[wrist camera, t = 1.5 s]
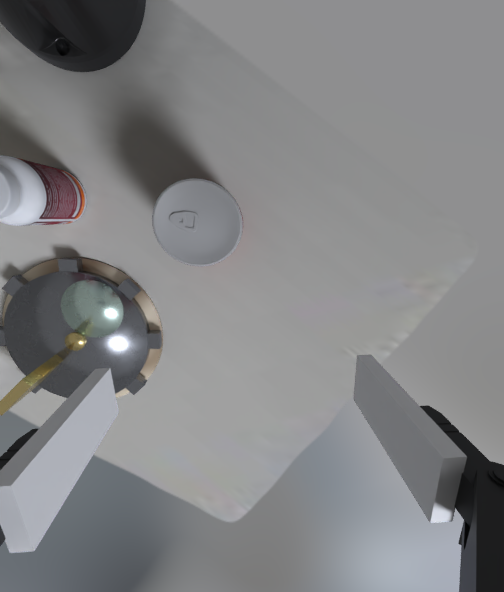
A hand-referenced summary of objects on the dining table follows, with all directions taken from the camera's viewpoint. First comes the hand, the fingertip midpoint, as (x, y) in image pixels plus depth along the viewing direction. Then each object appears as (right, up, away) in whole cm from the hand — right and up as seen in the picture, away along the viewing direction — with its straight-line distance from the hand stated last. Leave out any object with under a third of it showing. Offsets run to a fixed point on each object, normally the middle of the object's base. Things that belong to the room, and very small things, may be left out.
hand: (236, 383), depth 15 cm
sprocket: (-22, -1, +23) cm, 32 cm away
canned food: (-4, +14, +20) cm, 25 cm away
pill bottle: (-22, +17, +19) cm, 33 cm away
